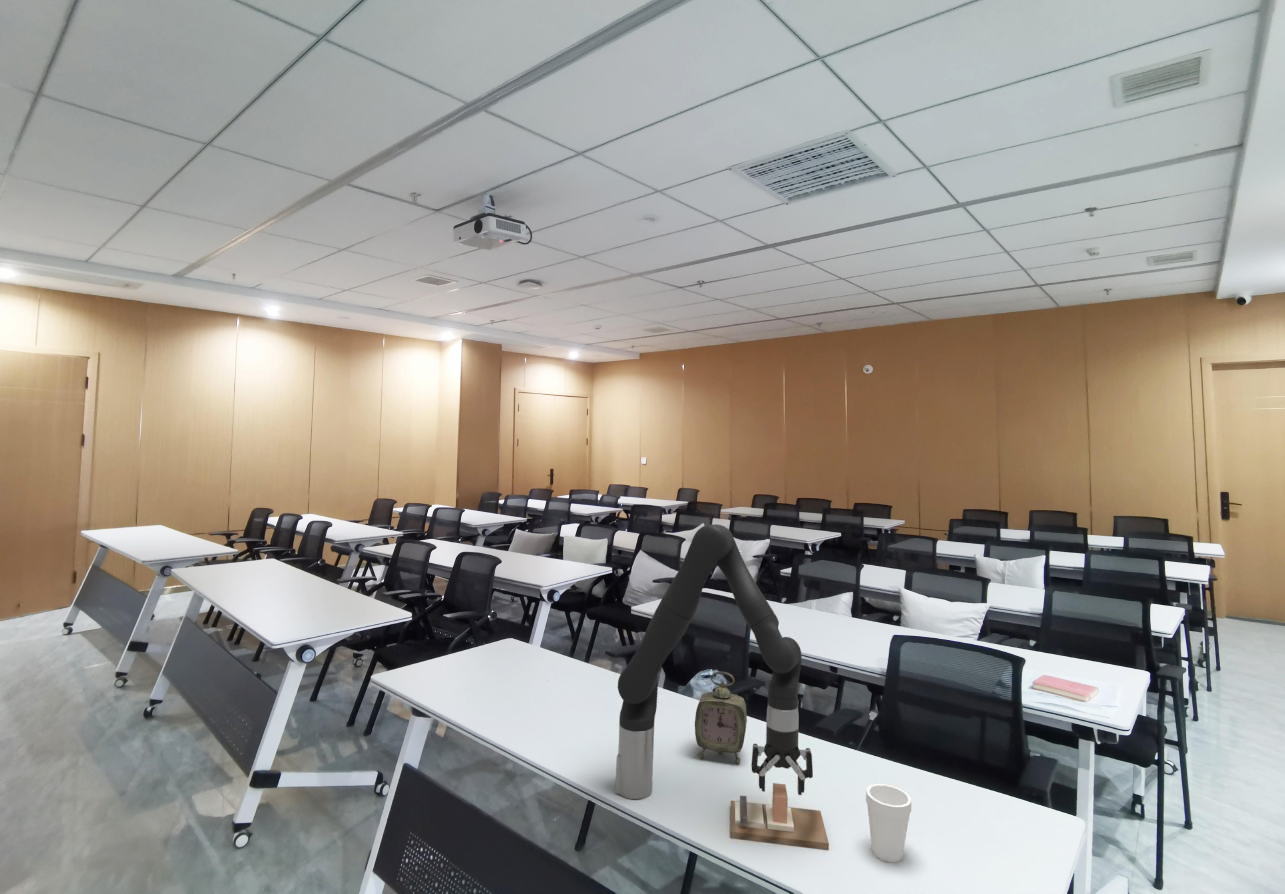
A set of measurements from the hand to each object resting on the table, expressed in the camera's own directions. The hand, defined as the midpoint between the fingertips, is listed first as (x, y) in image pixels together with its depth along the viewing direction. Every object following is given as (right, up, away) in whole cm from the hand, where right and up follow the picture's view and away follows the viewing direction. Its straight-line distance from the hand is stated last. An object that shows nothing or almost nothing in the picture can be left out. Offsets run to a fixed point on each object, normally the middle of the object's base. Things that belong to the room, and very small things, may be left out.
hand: (781, 791), depth 146 cm
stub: (-1, -7, 0) cm, 7 cm away
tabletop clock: (-10, -9, +34) cm, 36 cm away
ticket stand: (-1, -8, 0) cm, 8 cm away
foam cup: (+22, -9, -9) cm, 25 cm away
